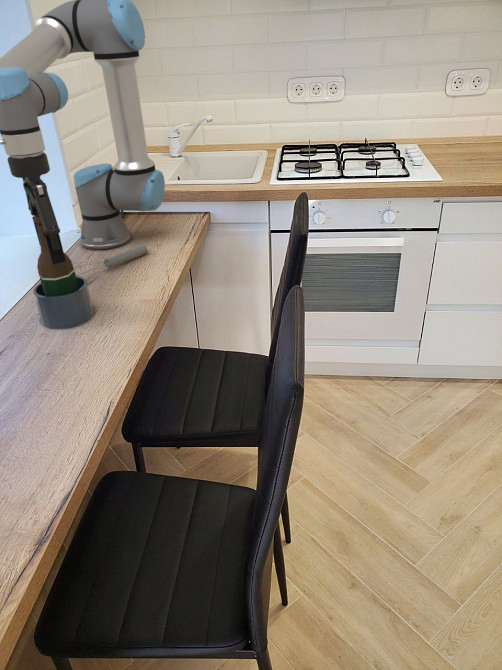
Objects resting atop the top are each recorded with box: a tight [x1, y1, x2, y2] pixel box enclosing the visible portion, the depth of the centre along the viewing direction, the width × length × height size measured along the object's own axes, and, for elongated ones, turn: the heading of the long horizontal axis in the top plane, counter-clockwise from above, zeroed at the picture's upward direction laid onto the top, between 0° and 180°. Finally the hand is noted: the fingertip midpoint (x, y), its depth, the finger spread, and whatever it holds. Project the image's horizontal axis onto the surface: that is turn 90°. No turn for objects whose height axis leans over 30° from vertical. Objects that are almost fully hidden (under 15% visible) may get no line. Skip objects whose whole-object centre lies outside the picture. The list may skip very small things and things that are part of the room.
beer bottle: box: [33, 215, 79, 297], centre depth 118 cm, size 8×8×24 cm
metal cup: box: [32, 275, 94, 330], centre depth 123 cm, size 12×12×8 cm
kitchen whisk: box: [73, 244, 151, 285], centre depth 145 cm, size 6×34×6 cm, turn 146°
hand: (52, 252), depth 117 cm, fingers open, 13 cm apart
